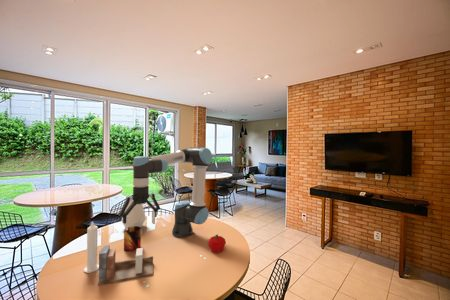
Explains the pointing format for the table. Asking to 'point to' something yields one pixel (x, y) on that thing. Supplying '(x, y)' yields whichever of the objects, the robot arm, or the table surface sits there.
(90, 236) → the white round flared column
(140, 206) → the vase
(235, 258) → the table surface
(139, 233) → the mug
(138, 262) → the bookend
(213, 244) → the apple
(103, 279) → the rack
